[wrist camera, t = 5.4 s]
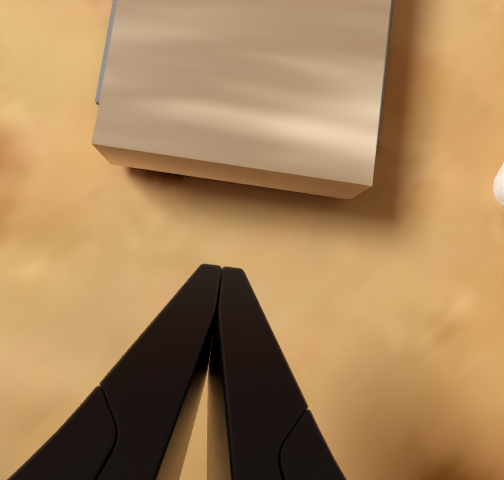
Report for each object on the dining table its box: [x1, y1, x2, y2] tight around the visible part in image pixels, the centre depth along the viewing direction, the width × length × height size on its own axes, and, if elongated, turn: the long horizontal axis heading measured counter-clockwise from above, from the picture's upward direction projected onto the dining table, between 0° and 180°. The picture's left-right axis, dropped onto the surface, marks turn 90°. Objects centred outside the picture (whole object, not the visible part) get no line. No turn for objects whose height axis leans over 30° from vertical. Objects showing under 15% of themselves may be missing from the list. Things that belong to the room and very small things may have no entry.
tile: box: [92, 0, 391, 200], centre depth 15 cm, size 2×9×12 cm
